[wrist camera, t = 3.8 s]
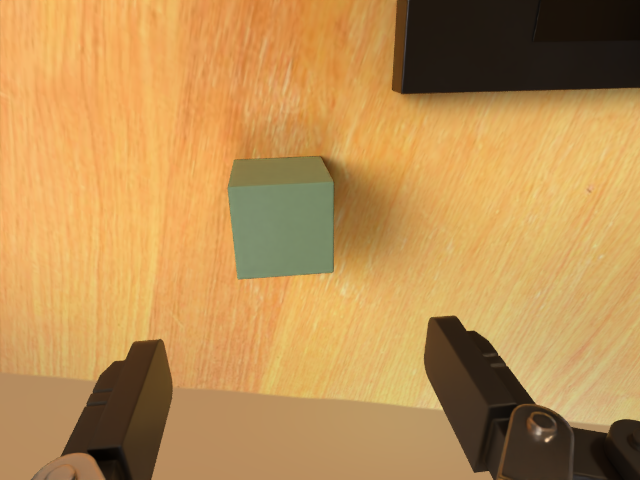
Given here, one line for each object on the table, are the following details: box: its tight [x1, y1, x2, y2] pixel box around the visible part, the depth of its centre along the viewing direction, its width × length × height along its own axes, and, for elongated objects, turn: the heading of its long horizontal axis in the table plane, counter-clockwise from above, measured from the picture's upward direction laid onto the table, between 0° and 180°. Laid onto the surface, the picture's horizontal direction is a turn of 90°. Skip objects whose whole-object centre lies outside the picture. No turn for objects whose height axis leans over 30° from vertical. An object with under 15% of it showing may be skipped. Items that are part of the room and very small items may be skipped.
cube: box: [228, 156, 334, 279], centre depth 23 cm, size 5×5×5 cm
